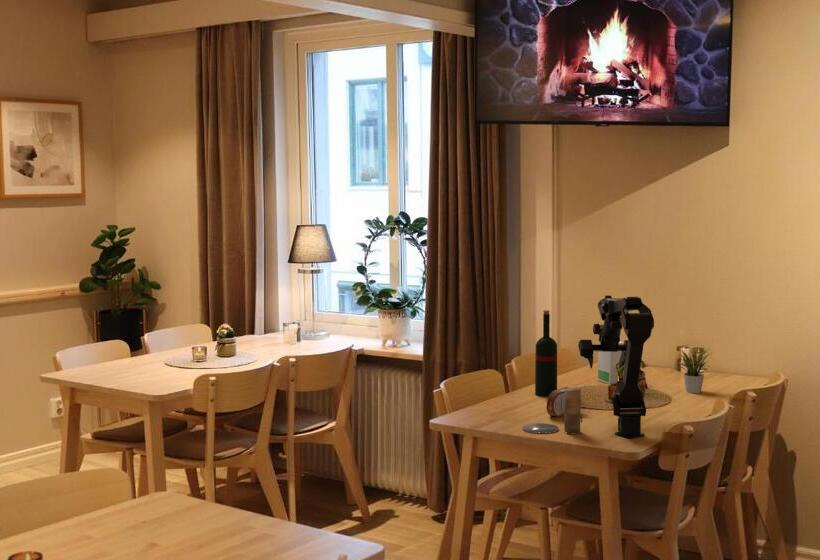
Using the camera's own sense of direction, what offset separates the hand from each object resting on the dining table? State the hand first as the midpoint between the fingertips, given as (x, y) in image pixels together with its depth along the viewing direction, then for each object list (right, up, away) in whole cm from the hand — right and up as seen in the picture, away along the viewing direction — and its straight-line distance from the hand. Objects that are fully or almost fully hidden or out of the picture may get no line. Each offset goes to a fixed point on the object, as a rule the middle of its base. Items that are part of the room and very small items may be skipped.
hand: (605, 367), depth 337 cm
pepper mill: (-15, -18, -24) cm, 33 cm away
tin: (-14, -15, -1) cm, 21 cm away
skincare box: (+12, -10, +49) cm, 52 cm away
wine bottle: (-15, -12, +29) cm, 35 cm away
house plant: (+39, -11, +31) cm, 51 cm away
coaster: (-24, -17, -21) cm, 36 cm away
